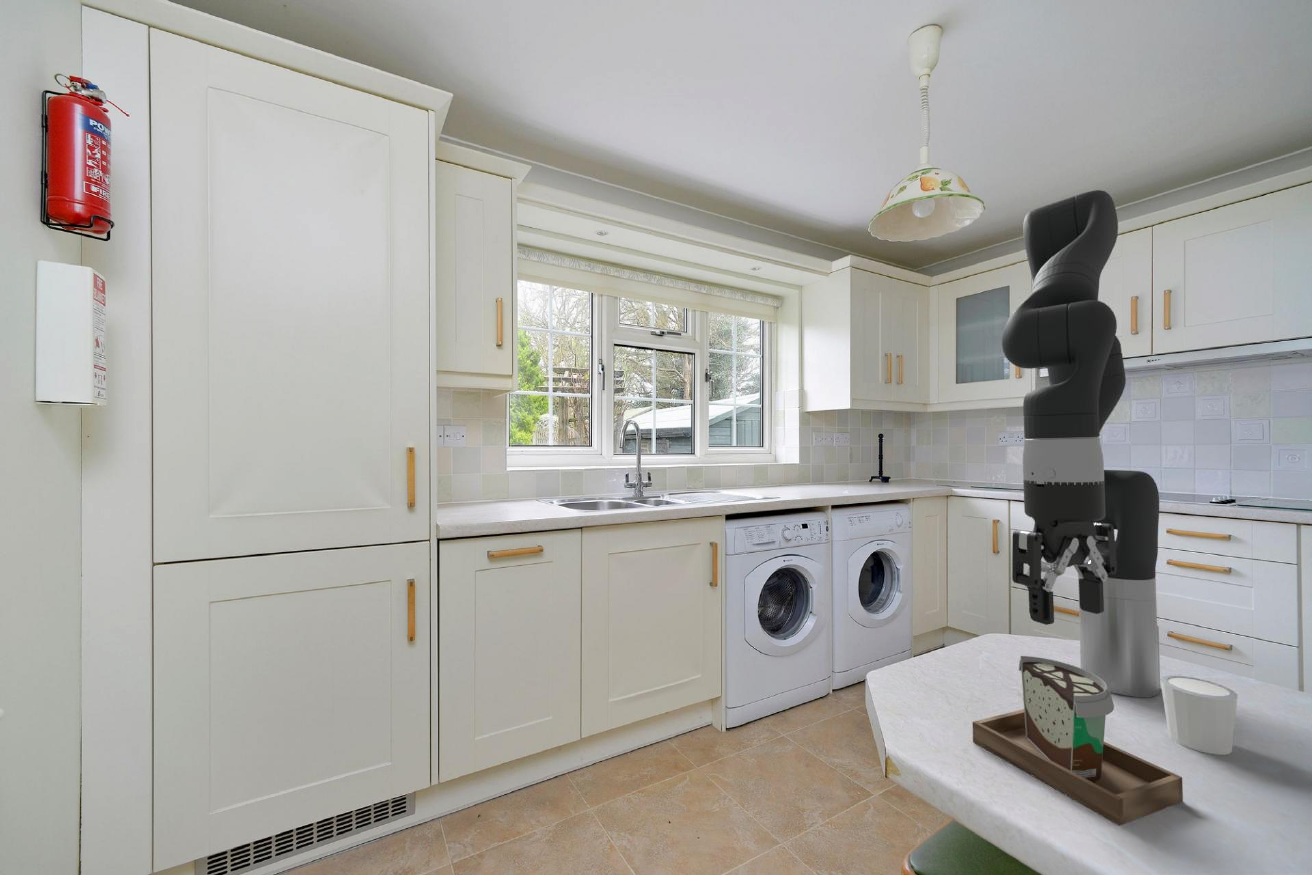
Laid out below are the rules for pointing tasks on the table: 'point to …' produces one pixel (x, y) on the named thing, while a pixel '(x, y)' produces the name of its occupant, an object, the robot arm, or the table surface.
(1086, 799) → the walnut tray
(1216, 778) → the table surface
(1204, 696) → the white cup
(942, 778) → the table surface
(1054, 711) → the food container
